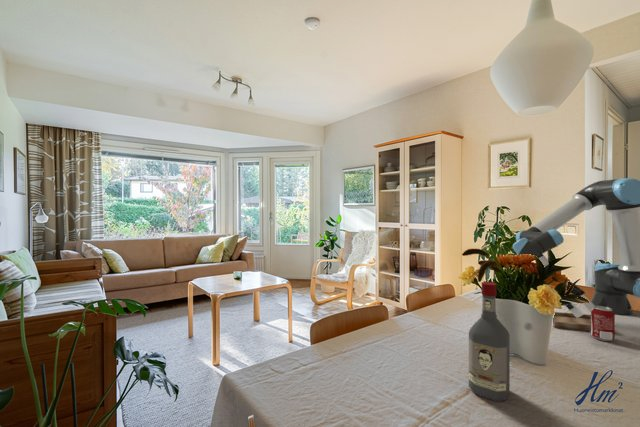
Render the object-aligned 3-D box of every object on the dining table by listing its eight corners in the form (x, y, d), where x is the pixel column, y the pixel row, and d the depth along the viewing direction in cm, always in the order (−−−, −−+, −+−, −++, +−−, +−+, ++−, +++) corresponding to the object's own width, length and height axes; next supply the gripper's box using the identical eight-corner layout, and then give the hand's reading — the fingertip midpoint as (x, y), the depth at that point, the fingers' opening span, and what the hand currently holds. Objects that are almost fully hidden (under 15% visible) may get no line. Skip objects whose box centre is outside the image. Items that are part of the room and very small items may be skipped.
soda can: (616, 344, 113) (616, 312, 113) (591, 339, 117) (591, 308, 117) (613, 338, 118) (613, 307, 118) (589, 333, 122) (590, 304, 122)
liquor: (474, 378, 91) (474, 278, 91) (510, 389, 85) (510, 282, 85) (466, 392, 84) (466, 284, 83) (505, 405, 78) (505, 289, 78)
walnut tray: (593, 320, 137) (593, 315, 137) (613, 333, 122) (613, 327, 122) (541, 316, 143) (541, 310, 143) (554, 327, 129) (554, 321, 129)
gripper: (550, 270, 142) (590, 312, 129) (523, 277, 129) (565, 323, 116) (564, 261, 137) (607, 303, 125) (537, 266, 124) (583, 314, 112)
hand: (587, 313), depth 121 cm, fingers open, 13 cm apart
